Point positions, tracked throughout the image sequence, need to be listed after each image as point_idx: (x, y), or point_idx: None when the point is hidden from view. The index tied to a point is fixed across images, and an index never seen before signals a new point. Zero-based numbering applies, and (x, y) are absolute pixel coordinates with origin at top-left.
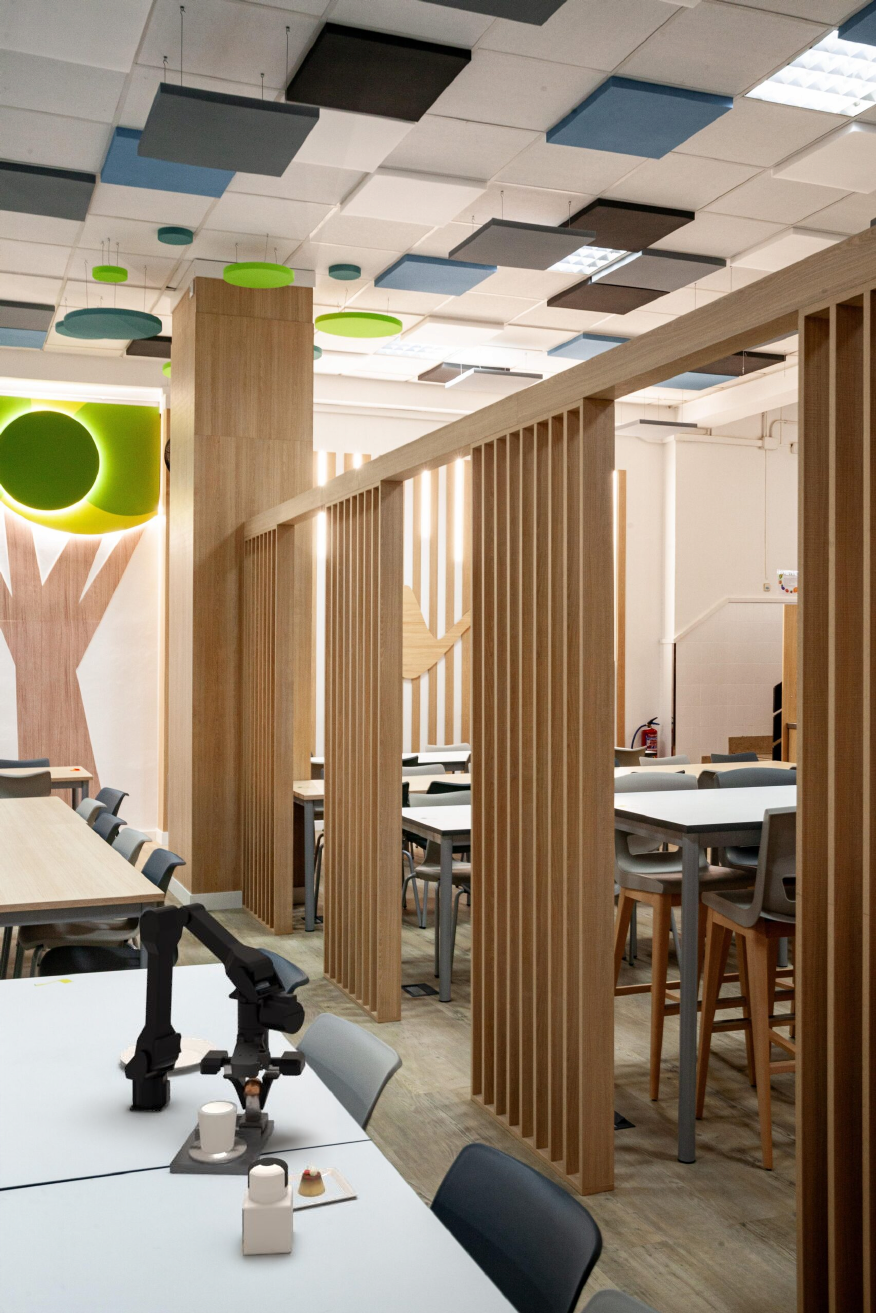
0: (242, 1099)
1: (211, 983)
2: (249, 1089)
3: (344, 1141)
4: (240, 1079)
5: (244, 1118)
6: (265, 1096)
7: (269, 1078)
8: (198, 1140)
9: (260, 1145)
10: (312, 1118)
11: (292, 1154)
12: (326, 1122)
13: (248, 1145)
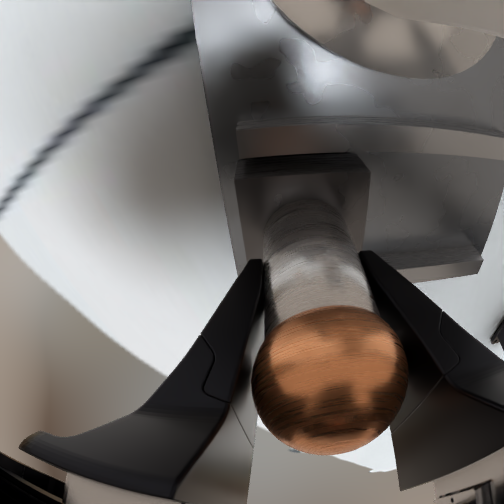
0: (391, 285)
1: (389, 466)
2: (359, 347)
3: (9, 210)
4: (458, 415)
5: (348, 220)
6: (217, 317)
7: (75, 458)
8: (492, 41)
9: (196, 27)
10: (158, 323)
11: (78, 68)
12: (111, 306)
13: (259, 15)
